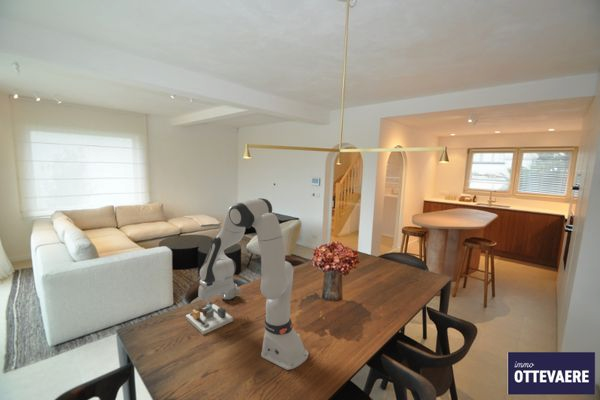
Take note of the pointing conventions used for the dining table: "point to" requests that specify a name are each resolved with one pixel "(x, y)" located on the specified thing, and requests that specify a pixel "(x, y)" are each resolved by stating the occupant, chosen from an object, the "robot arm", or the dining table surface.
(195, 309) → the walnut lever
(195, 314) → the orange slider
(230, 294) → the teacup
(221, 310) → the black slider
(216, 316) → the panel
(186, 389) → the dining table surface
